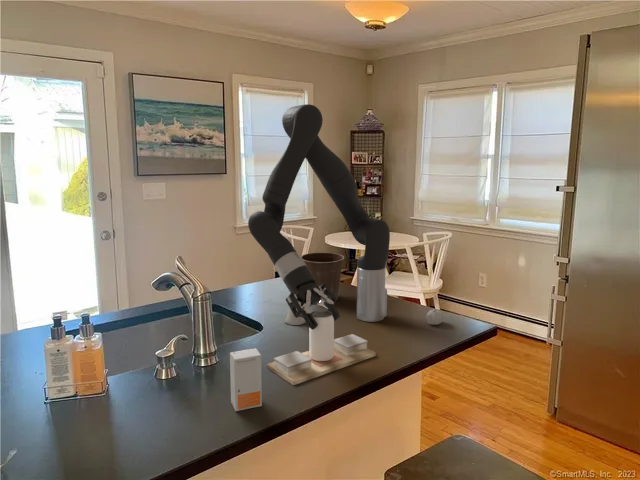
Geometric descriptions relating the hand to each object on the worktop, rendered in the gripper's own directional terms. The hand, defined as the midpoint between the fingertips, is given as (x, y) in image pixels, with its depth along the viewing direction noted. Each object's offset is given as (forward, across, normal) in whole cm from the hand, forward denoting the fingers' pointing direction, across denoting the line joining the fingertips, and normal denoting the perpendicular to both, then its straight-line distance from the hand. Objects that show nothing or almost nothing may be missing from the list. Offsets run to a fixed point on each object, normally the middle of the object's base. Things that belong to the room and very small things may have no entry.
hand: (326, 323), depth 123 cm
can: (+6, 0, +8) cm, 10 cm away
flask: (-12, +16, +28) cm, 34 cm away
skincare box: (+8, -28, +7) cm, 30 cm away
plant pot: (-19, +40, +35) cm, 56 cm away
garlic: (+13, +45, +4) cm, 47 cm away
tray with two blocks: (+7, 0, +9) cm, 11 cm away
